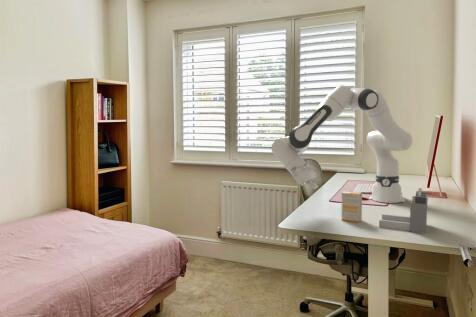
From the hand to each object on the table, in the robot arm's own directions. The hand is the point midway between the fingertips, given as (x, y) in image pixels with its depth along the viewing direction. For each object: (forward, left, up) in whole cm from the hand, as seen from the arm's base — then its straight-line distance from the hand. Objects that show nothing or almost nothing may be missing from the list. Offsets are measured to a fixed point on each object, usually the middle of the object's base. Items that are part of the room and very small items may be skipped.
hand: (316, 188), depth 176 cm
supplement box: (0, +16, -14) cm, 21 cm away
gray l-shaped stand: (0, +38, -14) cm, 40 cm away
